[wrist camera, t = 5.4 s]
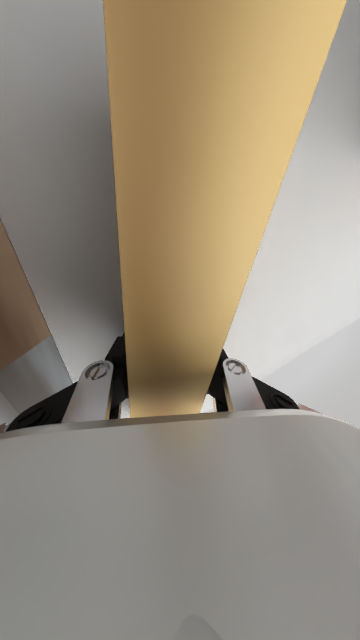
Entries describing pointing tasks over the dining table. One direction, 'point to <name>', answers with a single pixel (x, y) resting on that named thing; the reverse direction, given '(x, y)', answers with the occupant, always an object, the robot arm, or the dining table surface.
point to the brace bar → (200, 168)
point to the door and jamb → (24, 342)
